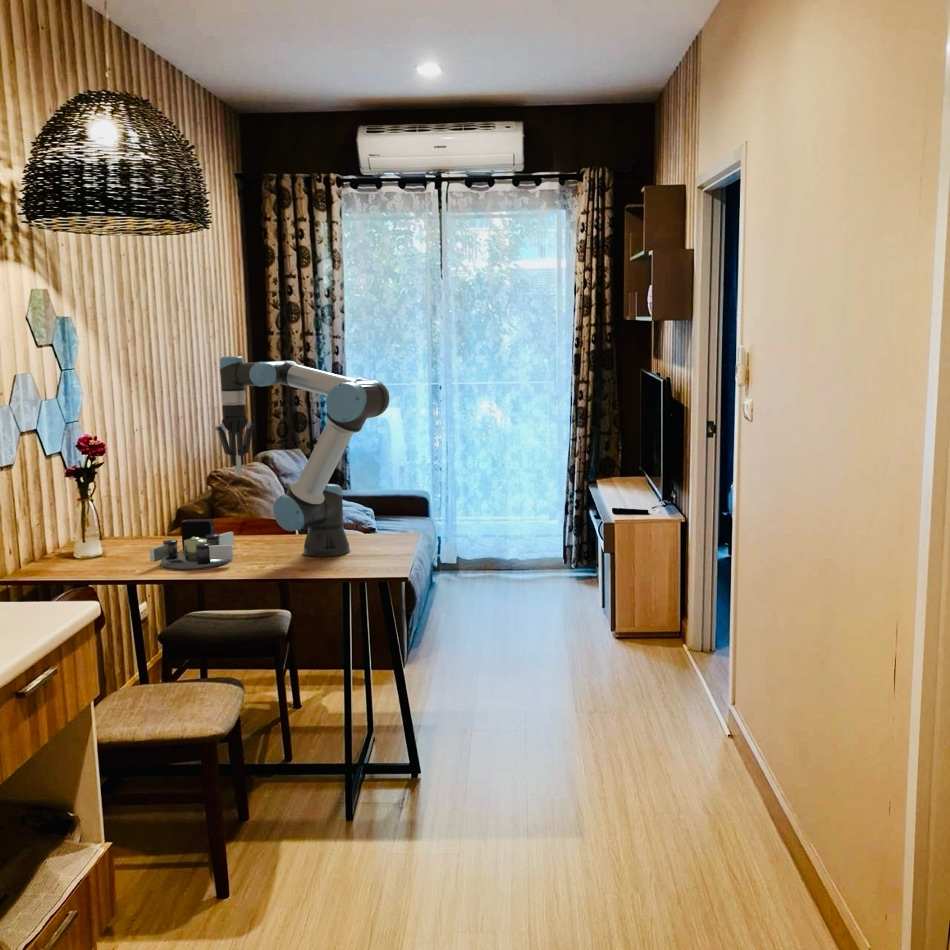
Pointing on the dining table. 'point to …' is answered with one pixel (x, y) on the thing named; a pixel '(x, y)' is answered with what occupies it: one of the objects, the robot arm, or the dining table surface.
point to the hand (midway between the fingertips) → (238, 475)
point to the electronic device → (196, 528)
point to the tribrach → (191, 558)
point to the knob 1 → (164, 551)
